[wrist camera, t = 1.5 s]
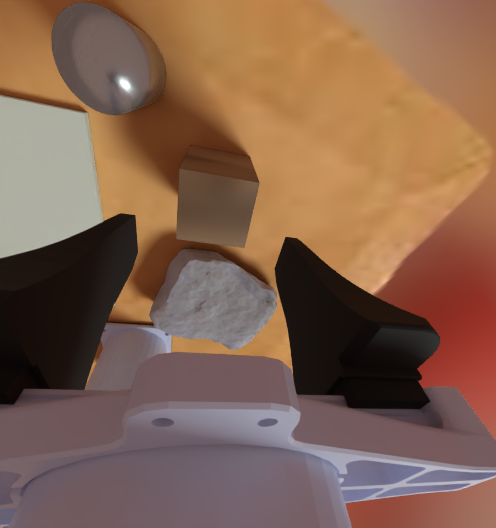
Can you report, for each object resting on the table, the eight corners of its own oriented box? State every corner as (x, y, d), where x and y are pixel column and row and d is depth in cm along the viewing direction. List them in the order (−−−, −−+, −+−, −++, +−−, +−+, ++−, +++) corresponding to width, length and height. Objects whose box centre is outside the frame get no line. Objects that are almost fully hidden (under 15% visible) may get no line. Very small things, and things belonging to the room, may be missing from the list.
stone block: (182, 228, 24) (147, 307, 28) (181, 247, 20) (141, 337, 23) (280, 268, 29) (241, 331, 32) (295, 290, 25) (249, 361, 28)
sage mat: (115, 303, 27) (114, 306, 26) (8, 294, 25) (5, 298, 25) (87, 112, 17) (84, 113, 16) (-99, 74, 15) (-108, 73, 14)
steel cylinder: (165, 112, 17) (148, 122, 13) (102, 98, 16) (62, 104, 12) (166, 34, 15) (146, 18, 11) (92, 14, 14) (40, -12, 10)
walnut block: (239, 210, 22) (244, 247, 17) (186, 202, 21) (176, 239, 16) (249, 156, 19) (259, 183, 14) (190, 144, 18) (179, 168, 13)
